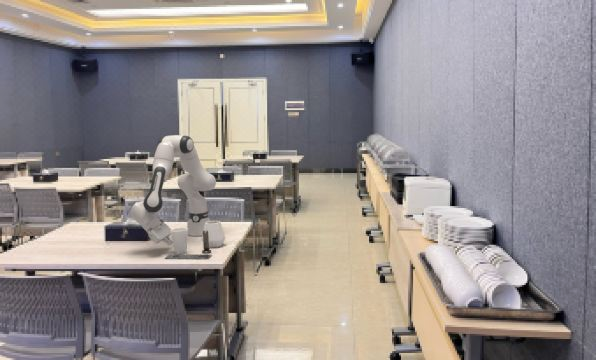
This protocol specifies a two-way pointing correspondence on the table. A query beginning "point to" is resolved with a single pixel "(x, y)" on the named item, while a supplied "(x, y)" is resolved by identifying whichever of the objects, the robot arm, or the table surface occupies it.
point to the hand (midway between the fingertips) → (171, 243)
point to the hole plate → (187, 256)
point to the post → (206, 243)
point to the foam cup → (179, 240)
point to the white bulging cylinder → (214, 233)
